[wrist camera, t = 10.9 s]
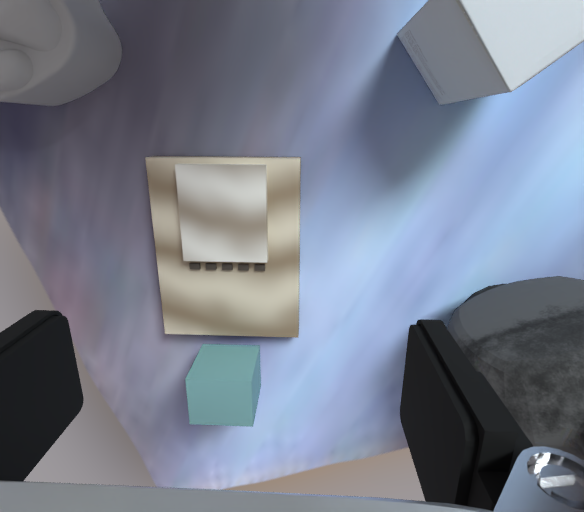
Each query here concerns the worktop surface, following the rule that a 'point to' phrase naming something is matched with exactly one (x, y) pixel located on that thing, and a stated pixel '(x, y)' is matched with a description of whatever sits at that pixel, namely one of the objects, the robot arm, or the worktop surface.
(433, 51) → the supplement box
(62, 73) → the lumpy-topped squat cylinder
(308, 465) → the worktop surface
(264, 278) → the ticket board
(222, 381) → the block
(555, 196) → the worktop surface
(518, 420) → the pitcher
